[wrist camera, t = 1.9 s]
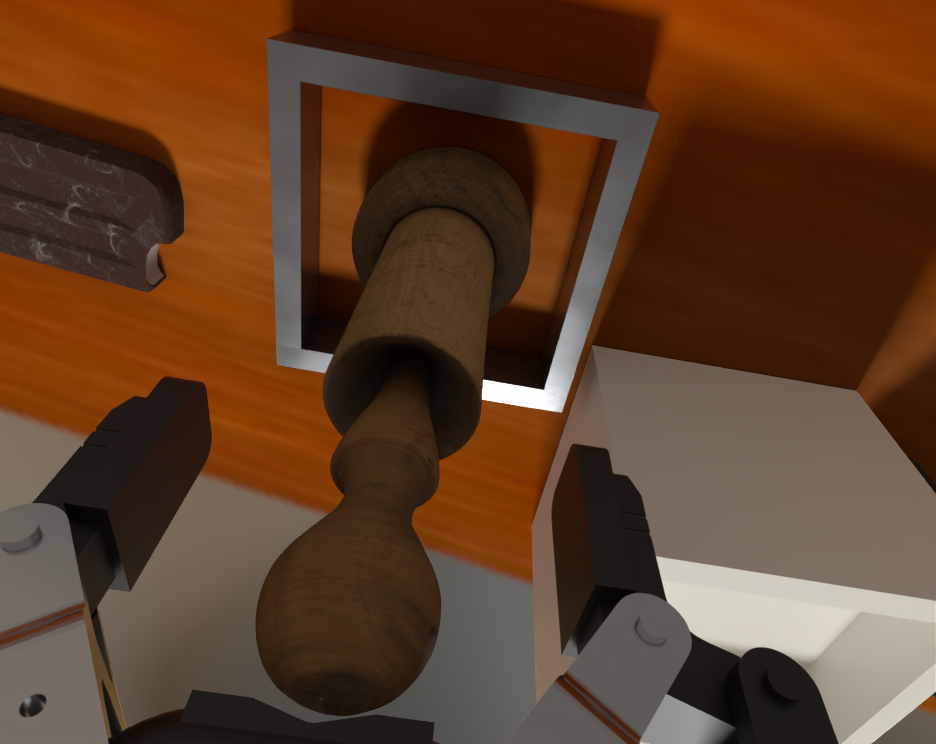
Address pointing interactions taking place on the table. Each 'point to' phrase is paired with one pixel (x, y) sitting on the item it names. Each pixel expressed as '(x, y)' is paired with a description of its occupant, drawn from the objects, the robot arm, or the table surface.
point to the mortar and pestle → (395, 429)
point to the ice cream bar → (85, 205)
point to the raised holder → (765, 526)
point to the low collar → (463, 89)
